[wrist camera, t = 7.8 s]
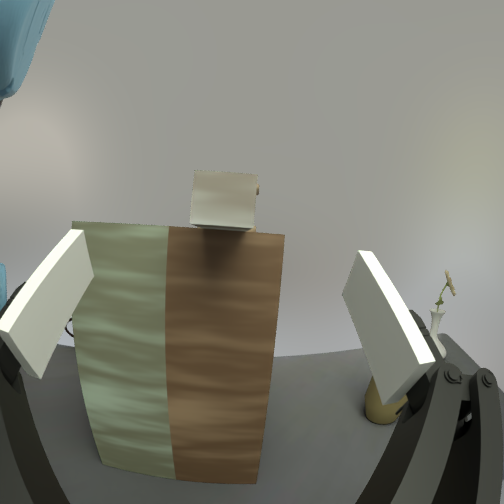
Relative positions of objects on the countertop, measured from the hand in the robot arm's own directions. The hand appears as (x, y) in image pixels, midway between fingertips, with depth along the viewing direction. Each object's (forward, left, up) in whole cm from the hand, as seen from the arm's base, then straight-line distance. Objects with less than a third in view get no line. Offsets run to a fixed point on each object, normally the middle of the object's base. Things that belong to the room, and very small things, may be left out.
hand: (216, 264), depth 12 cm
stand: (-12, +13, -27) cm, 32 cm away
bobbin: (-7, +12, +2) cm, 14 cm away
